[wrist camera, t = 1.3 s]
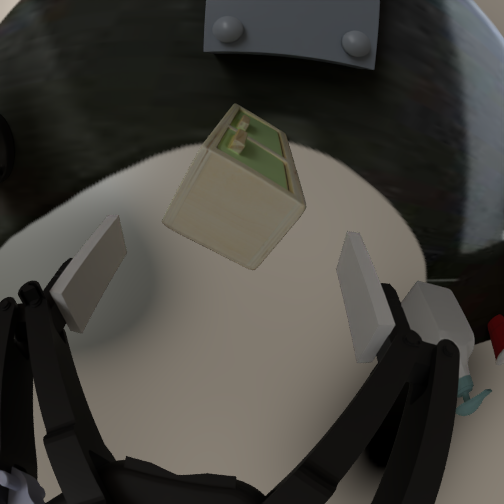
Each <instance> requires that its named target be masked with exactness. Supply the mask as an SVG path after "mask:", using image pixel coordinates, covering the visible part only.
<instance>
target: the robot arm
mask: <svg viewBox="0 0 504 504" xmlns="http://www.w3.org/2000/svg"><path fill="white" fill-rule="evenodd" d="M13 163H14V143H13V138H12V134H11V131H10V129H9V126H8V124H7V122H6V121H5V119H4V118H3V117H2V116H1V115H0V183H1V182H2V181H4V180H5V179H6V178H7V177H8V176H9V175H10V173H11V171H12V168H13ZM126 254H127V251H126V246H125V242H124V238H123V233H122V229H121V224H120V219H119V215H108V216H107V217H106V218H105V219H104V220H103V222H102V223H101V224H100V225H99V227H98V228H97V229H96V230H95V231H94V232H93V234H92V235H91V236H90V237H89V239H88V240H87V241H86V242H85V244H84V245H83V246H82V247H81V249H80V250H79V251H78V253H77V254H76V255H75V257H74V258H70V259H68V260H67V261H66V262H64V263H63V264H62V266H61V267H60V268H59V270H58V271H57V272H56V274H55V276H54V277H53V278H52V279H51V281H50V282H49V283H48V285H47V286H46V288H45V289H44V291H43V290H42V289H41V286H40V284H39V283H38V282H37V281H29V282H27V283H25V284H24V285H23V286H22V287H21V288H20V290H19V292H18V296H19V297H20V299H21V301H22V304H17V303H16V301H15V300H14V298H12V297H7V298H5V299H3V300H2V301H1V302H0V504H325V503H326V502H327V501H328V499H329V498H330V497H331V496H332V495H333V493H334V492H335V490H336V487H337V485H338V483H339V482H340V480H341V479H342V478H343V477H344V475H345V474H346V473H347V472H348V470H349V469H350V468H351V466H352V465H353V464H354V462H355V461H356V460H357V458H358V457H359V455H360V454H361V453H362V451H363V450H364V449H365V447H366V446H367V444H368V443H369V441H370V440H371V439H372V437H373V435H374V434H375V432H376V431H377V429H378V428H379V426H380V425H381V423H382V422H383V420H384V418H385V417H386V415H387V413H388V412H389V410H390V408H391V407H392V405H393V403H394V401H395V400H396V398H397V396H398V395H399V393H400V391H401V389H402V387H403V385H404V383H405V382H410V386H409V391H408V396H407V399H406V404H405V408H404V411H403V416H402V419H401V423H400V427H399V430H398V433H397V436H396V440H395V443H394V446H393V449H392V452H391V455H390V458H389V461H388V463H387V466H386V469H385V472H384V474H383V477H382V479H381V482H380V484H379V487H378V489H377V492H376V494H375V496H374V499H373V501H372V503H371V504H434V503H435V500H436V497H437V494H438V491H439V488H440V484H441V481H442V477H443V473H444V470H445V466H446V461H447V457H448V452H449V448H450V443H451V437H452V431H453V426H454V418H455V412H456V403H457V394H458V383H459V366H460V352H459V348H458V347H457V345H456V344H455V343H454V342H453V341H451V340H449V339H442V340H440V341H439V342H438V344H437V345H435V344H431V343H428V342H424V341H422V338H421V337H420V335H419V334H418V333H417V332H415V331H414V330H411V329H410V326H409V323H408V321H407V318H406V315H405V313H404V310H403V307H401V306H402V305H401V302H400V301H399V297H398V295H397V292H396V290H395V289H394V288H393V287H392V286H391V285H390V284H386V283H380V281H379V278H378V276H377V273H376V271H375V268H374V266H373V263H372V261H371V258H370V256H369V253H368V251H367V249H366V246H365V244H364V242H363V239H362V237H361V235H360V233H357V232H348V231H347V233H346V237H345V241H344V244H343V248H342V251H341V255H340V258H339V262H338V265H337V269H336V270H337V274H338V278H339V282H340V287H341V291H342V294H343V299H344V304H345V308H346V312H347V317H348V322H349V326H350V331H351V336H352V340H353V345H354V351H355V356H356V361H357V363H369V362H372V361H373V359H374V358H375V357H376V356H377V360H378V364H377V365H376V366H375V368H374V369H373V371H372V372H371V373H370V376H369V377H368V378H367V380H366V381H365V383H364V384H363V386H362V387H361V389H360V390H359V391H358V393H357V394H356V396H355V397H354V398H353V400H352V401H351V402H350V404H349V405H348V407H347V408H346V409H345V410H344V412H343V413H342V414H341V415H340V417H339V418H338V419H337V421H336V422H335V423H334V424H333V425H332V427H331V428H330V429H329V430H328V432H327V433H326V434H325V435H324V436H323V438H322V439H321V440H320V441H319V442H318V443H317V444H316V446H315V447H314V448H313V449H312V450H311V451H310V452H309V454H308V455H307V456H306V457H305V458H304V459H303V460H302V461H301V462H300V463H299V464H298V465H297V466H296V468H294V469H293V470H292V472H290V473H289V474H288V475H287V477H285V478H284V479H283V480H282V481H281V482H280V483H279V484H278V485H277V486H276V487H275V488H274V489H273V490H271V491H270V492H269V493H268V494H267V495H266V496H264V494H262V493H261V492H260V491H259V490H258V489H256V488H255V487H253V486H251V485H249V484H247V483H245V482H242V481H239V480H236V476H226V475H217V474H208V473H206V474H193V475H176V474H174V473H171V472H169V471H167V470H165V469H163V468H161V467H159V466H157V465H155V464H152V463H150V462H146V461H142V460H139V459H135V458H131V457H128V456H126V459H125V460H119V461H116V460H115V458H114V457H113V455H112V453H111V452H110V451H109V450H108V448H107V447H106V446H105V444H104V442H103V440H102V438H101V435H100V433H99V431H98V428H97V426H96V424H95V421H94V419H93V417H92V414H91V411H90V409H89V406H88V404H87V401H86V398H85V396H84V393H83V390H82V387H81V384H80V381H79V378H78V375H77V372H76V368H75V365H74V362H73V358H72V355H71V351H70V347H69V344H68V340H67V336H66V332H65V330H64V329H63V328H64V326H65V324H67V325H68V327H69V329H70V330H71V331H74V332H78V333H83V331H84V329H85V327H86V325H87V323H88V321H89V319H90V317H91V315H92V313H93V311H94V310H95V307H96V306H97V304H98V302H99V300H100V298H101V297H102V295H103V293H104V291H105V289H106V288H107V286H108V284H109V282H110V281H111V279H112V277H113V275H114V274H115V272H116V270H117V269H118V267H119V265H120V264H121V262H122V260H123V259H124V257H125V255H126ZM33 378H34V383H35V388H36V393H37V396H38V401H39V406H40V410H41V414H42V417H43V421H44V424H45V428H46V432H47V434H46V435H45V436H44V439H43V441H44V446H45V449H46V452H47V455H48V458H49V460H50V463H51V466H52V468H53V471H54V474H55V476H56V478H57V481H58V483H59V486H60V488H61V490H62V493H61V494H60V495H58V496H56V497H55V498H53V499H52V500H50V501H49V502H47V503H45V502H44V500H43V498H44V497H45V491H44V489H43V488H42V487H41V486H40V484H39V483H38V481H37V458H36V449H35V438H34V423H33Z"/></svg>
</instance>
